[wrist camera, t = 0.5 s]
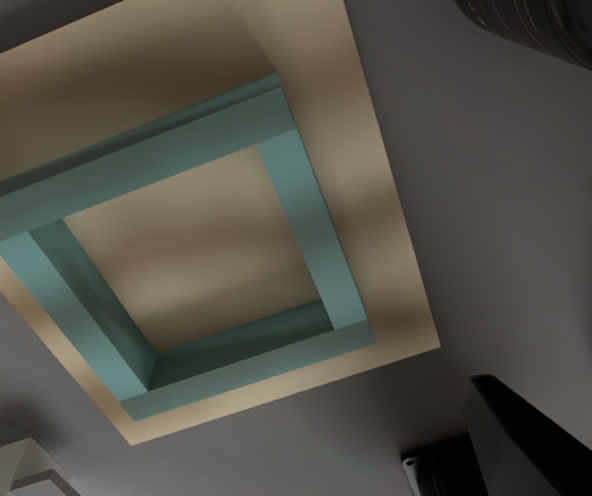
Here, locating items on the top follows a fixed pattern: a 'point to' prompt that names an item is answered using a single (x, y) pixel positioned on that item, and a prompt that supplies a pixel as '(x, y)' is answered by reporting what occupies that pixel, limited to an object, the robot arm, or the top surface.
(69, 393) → the top surface
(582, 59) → the supplement bottle
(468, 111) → the top surface
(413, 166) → the top surface
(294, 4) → the tray
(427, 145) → the top surface
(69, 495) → the block
